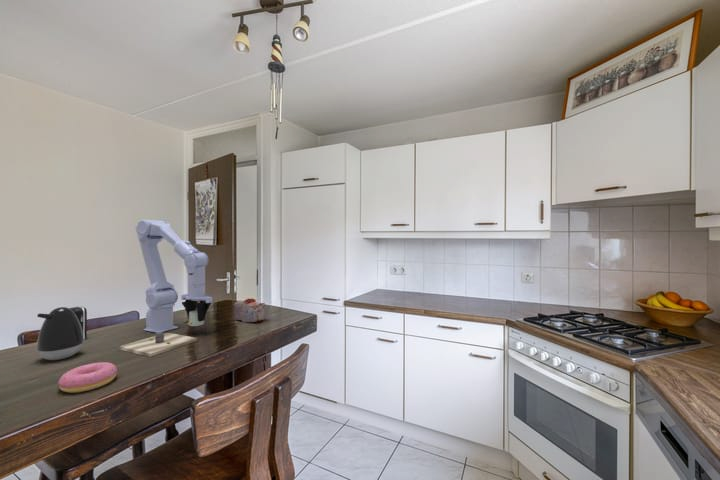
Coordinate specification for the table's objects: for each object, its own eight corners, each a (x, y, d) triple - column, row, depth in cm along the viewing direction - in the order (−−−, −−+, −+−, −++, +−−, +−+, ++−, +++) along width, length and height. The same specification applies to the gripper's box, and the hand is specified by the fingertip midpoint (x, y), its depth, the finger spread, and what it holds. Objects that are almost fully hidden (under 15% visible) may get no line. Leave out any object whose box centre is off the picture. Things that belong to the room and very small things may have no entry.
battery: (65, 339, 109) (65, 307, 109) (78, 336, 112) (78, 305, 112) (73, 342, 106) (73, 309, 106) (87, 339, 109) (87, 307, 109)
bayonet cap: (184, 325, 114) (184, 312, 114) (199, 321, 119) (199, 308, 119) (193, 327, 112) (193, 313, 112) (208, 322, 117) (208, 310, 117)
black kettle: (27, 361, 89) (27, 309, 89) (71, 349, 99) (71, 302, 99) (48, 366, 86) (47, 312, 86) (91, 353, 95) (91, 305, 95)
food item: (267, 320, 135) (267, 298, 135) (254, 324, 127) (254, 301, 127) (244, 317, 140) (244, 295, 140) (230, 321, 133) (230, 299, 133)
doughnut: (48, 390, 72) (48, 372, 72) (102, 371, 82) (102, 356, 82) (72, 399, 68) (72, 381, 68) (127, 379, 78) (127, 363, 78)
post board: (119, 349, 99) (119, 337, 99) (167, 335, 113) (167, 324, 113) (150, 356, 92) (150, 343, 92) (197, 340, 107) (197, 329, 107)
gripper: (173, 284, 115) (173, 320, 115) (200, 287, 109) (200, 324, 109) (190, 282, 121) (190, 316, 121) (217, 284, 115) (216, 320, 115)
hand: (196, 320), depth 116 cm, fingers closed on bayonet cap, 5 cm apart
